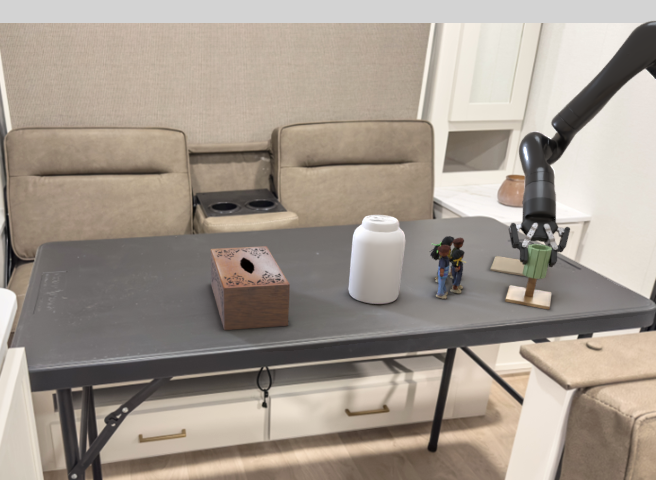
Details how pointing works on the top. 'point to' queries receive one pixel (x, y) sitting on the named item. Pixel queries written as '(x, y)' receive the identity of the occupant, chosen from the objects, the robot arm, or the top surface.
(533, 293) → the stacking stand
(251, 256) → the tissue box cover
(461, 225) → the top surface
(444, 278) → the doll family
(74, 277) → the top surface
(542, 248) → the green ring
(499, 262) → the oatmeal mat
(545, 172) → the robot arm
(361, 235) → the can
